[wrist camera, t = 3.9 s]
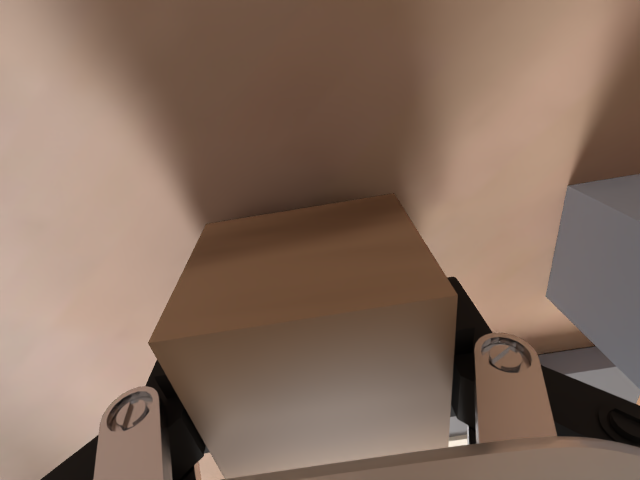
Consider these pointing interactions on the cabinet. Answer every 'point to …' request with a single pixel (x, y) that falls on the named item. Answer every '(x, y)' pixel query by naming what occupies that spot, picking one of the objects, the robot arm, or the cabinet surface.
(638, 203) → the slate blue cube
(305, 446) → the walnut block
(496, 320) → the cabinet surface
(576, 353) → the building board
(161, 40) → the cabinet surface
